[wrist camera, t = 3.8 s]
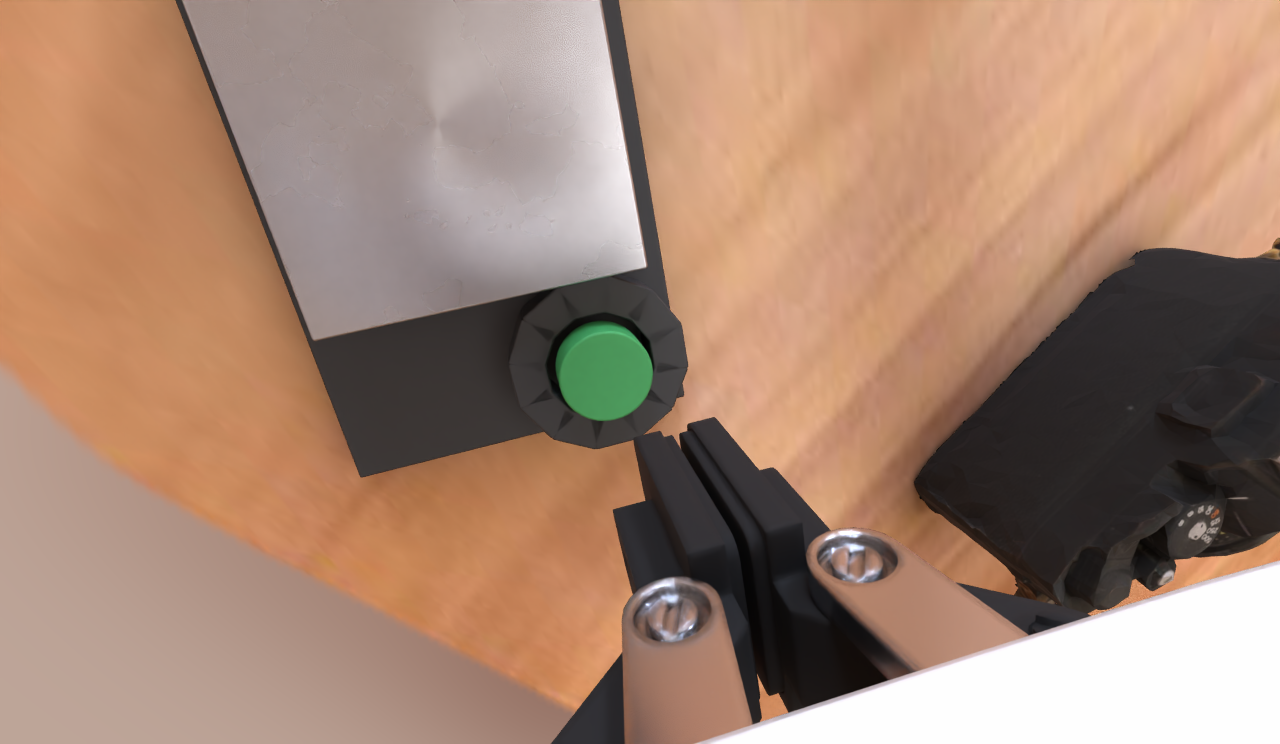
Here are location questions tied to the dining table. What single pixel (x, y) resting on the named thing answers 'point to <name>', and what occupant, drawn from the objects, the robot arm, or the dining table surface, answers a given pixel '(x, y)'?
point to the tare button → (603, 371)
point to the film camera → (1128, 434)
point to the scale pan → (426, 149)
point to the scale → (495, 344)
